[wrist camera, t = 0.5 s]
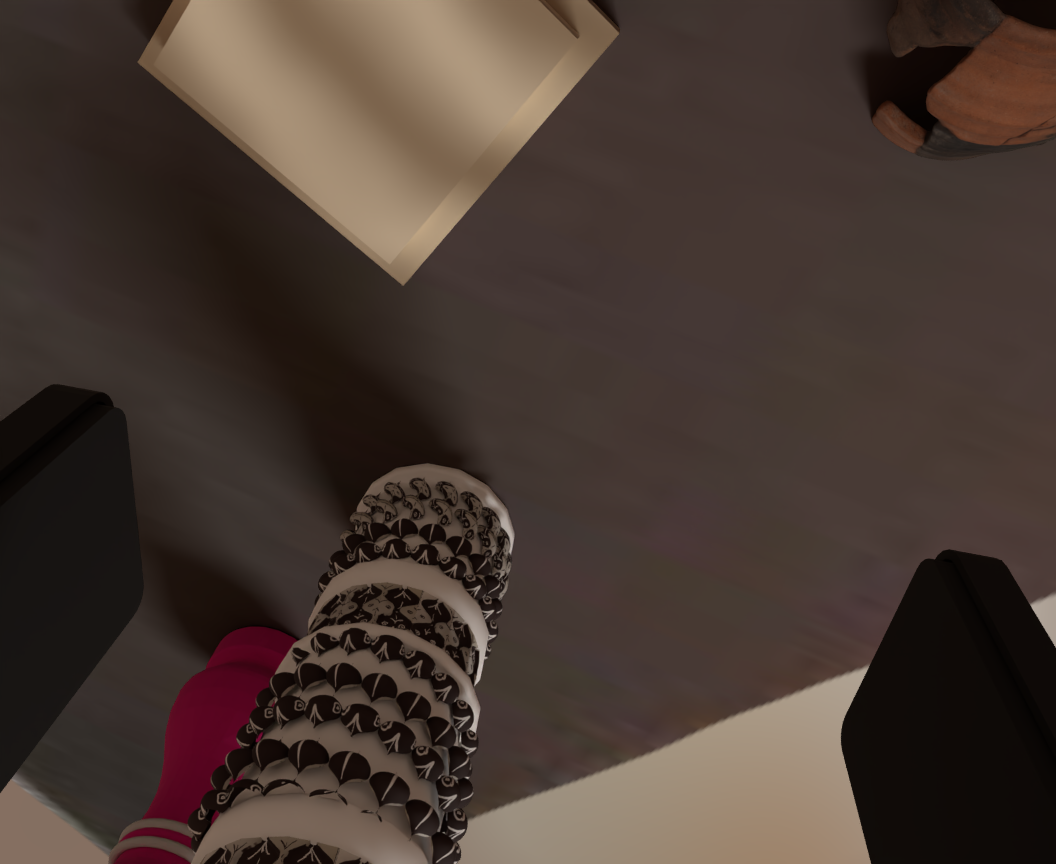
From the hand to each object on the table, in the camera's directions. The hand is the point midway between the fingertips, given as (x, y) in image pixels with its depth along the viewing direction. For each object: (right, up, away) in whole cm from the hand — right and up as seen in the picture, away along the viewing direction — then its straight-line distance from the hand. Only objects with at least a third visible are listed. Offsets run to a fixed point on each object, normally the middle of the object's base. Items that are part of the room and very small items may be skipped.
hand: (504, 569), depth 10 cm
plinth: (-5, +17, +23) cm, 29 cm away
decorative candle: (-5, -3, +35) cm, 35 cm away
